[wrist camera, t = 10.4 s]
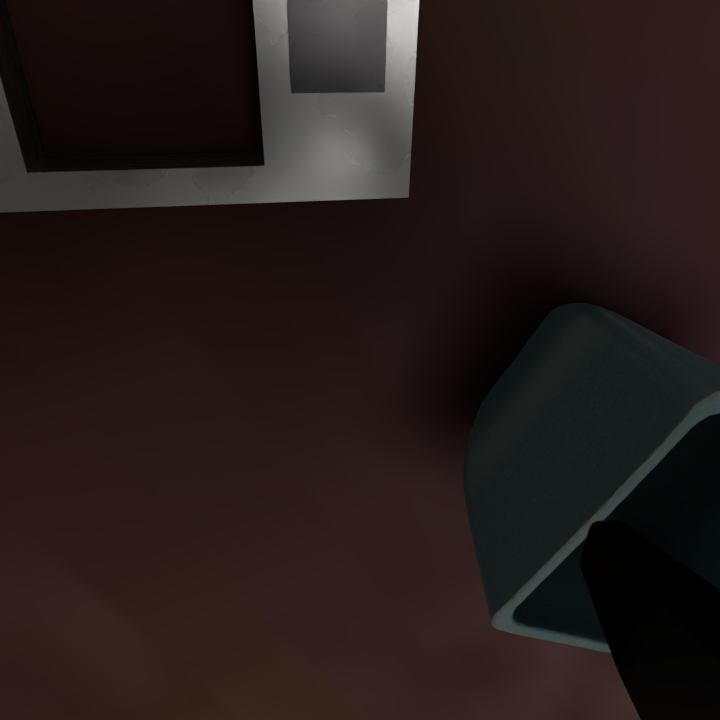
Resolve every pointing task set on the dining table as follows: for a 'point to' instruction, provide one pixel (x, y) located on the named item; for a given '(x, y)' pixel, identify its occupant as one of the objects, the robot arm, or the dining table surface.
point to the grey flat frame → (278, 116)
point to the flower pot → (589, 465)
